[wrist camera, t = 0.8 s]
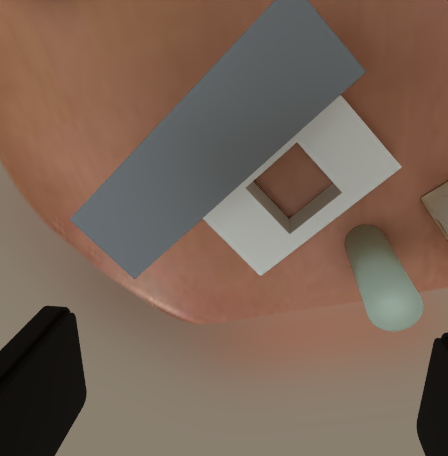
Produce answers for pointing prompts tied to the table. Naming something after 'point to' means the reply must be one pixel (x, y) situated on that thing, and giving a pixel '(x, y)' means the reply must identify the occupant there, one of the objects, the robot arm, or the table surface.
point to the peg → (382, 280)
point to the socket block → (244, 149)
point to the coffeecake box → (438, 207)
